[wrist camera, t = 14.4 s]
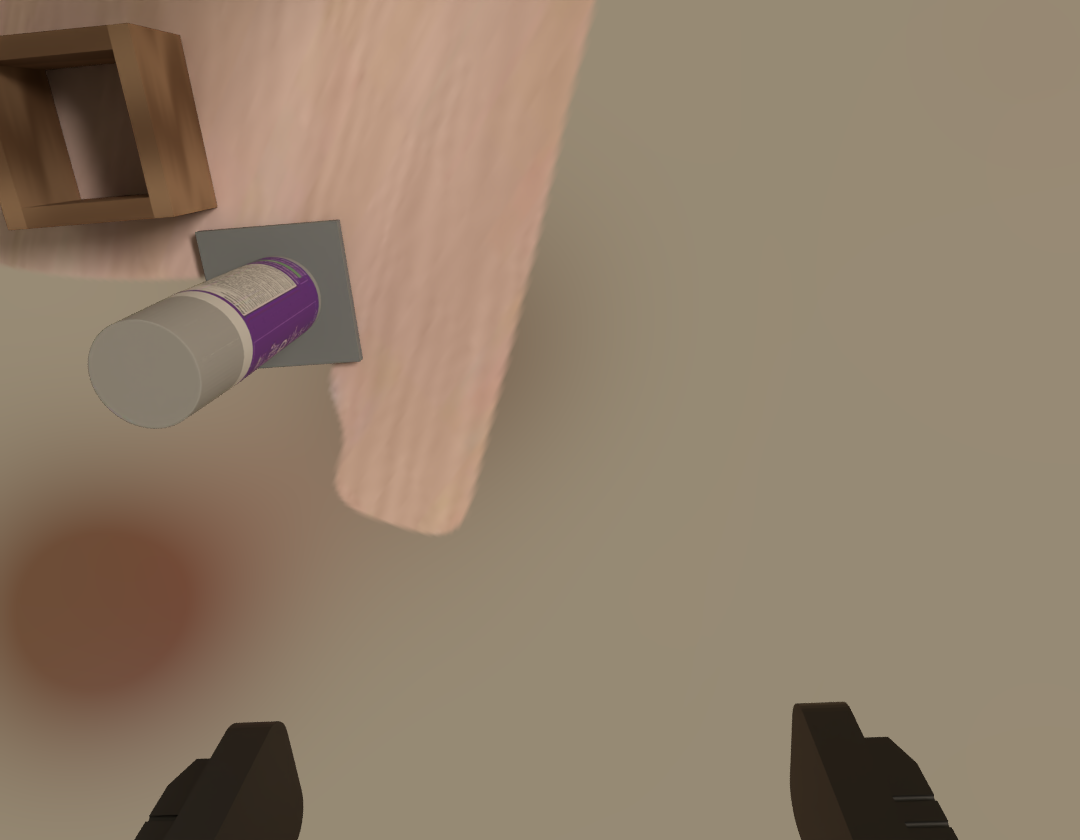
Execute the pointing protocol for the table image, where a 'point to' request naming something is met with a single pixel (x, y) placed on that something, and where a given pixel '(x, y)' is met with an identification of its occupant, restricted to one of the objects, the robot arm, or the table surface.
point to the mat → (321, 257)
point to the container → (201, 341)
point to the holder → (155, 113)
